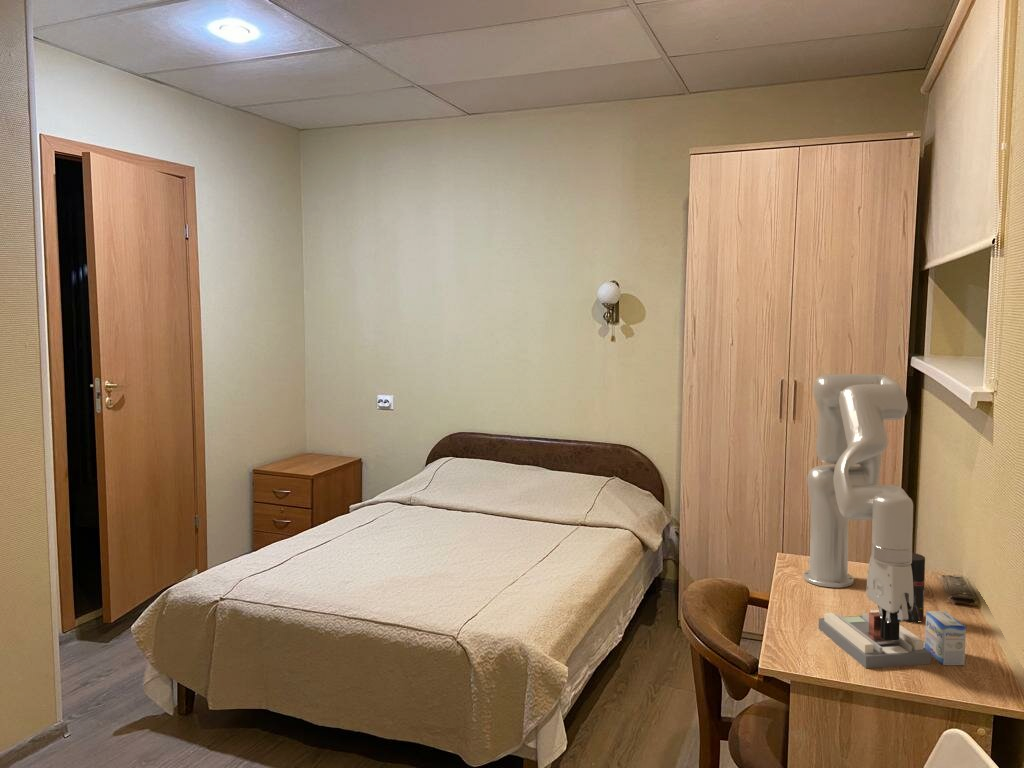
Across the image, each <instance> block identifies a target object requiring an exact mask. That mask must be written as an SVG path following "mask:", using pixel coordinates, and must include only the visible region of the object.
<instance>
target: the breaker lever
mask: <svg viewBox="0 0 1024 768" xmlns="http://www.w3.org/2000/svg"><path fill="white" fill-rule="evenodd" d="M868 615H869V632H863V633H864V634H865V635H866V636H868V637H869V638H870V639H872V640H873V641H874V642H876V643H877V644H878V645H881V644H897V643H898V640H889V641H886V640H884V639H883V638H881V636H880V631H881V618H880V616H879V612H872V613H870V612H868Z"/></svg>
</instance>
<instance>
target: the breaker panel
mask: <svg viewBox="0 0 1024 768" xmlns="http://www.w3.org/2000/svg"><path fill="white" fill-rule="evenodd" d="M872 612H879V609H871V610H870V611H869V613H872ZM869 613H867V612H861V615H855V616H854V615H853V616H841V615H840V614H839V613H833V612H825V613H824V617H820V618H819V617H818V630H819V629H820V630H819V631H821V632H822V631H823V632H824V633H825V634H826V635H825V634H824V633H823V632H822V633H823V634H824V635H825V636H827V637H828V638H829V639H830V638H831V639H832V642H834V643H835V644H836V645H837V646H839V648H840V649H842V650H843V651H844V652H846V653H847V654H848V655H850V656H851V657H852V658H853V659H854V660H855V661H857V663H859V664H860V665H861V666H862V667H864V668H865V669H874V668H889V667H890V668H891V667H906V666H919V665H920V666H921V665H931V661H932V660H931V657H932V655H931V652H930V651H928V650H927V649H925V640H923V639H922V638H920V637H918V636H917V635H916V634H915V633H912V632H911V631H909V629H908V628H907V629H906V628H905V627H904V626H902V625H901V624H900V626H899V639H898V643H897V644H881V645H878V644H877V643H876V642H874V641H873V640H872V639H870V638H869V637H868V636H866V635H865V634H864V633H863V632H869ZM831 639H830V640H831Z"/></svg>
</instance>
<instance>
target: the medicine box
mask: <svg viewBox="0 0 1024 768" xmlns="http://www.w3.org/2000/svg"><path fill="white" fill-rule="evenodd" d="M966 631H967V627H966V625H965V624H963V623H962V622H960V621H959V620H958V619H956V618H955V617H954V616H952V615H951V614H950V613H948V612H947V611H941V610H938V611H937V610H936V611H935V610H929V611H926V613H925V631H924V633H925V634H924V648H925V649H927V650H928V651H930V652H931V657H933V658H934V659H935V660H937V661H938V662H939V663H940V664H941V665H942V666H944V665H963V666H965V658H966V639H967V638H966V634H967V632H966Z"/></svg>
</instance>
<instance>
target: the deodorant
mask: <svg viewBox="0 0 1024 768" xmlns="http://www.w3.org/2000/svg"><path fill="white" fill-rule="evenodd" d="M911 568H912V575H913V593H914V598H913V609H912V611H911V612H908V618H909V619H908V620H901V622H905V621H906V622H905V623H911V622H918V621H922V620H923V621H924V617H925V615H924V612H925V610H924V609H925V604H924V603H925V578H926V577H925V574H926V572H925V571H926V557H925V556H924V555H922V554H920V553H914V552H912V563H911ZM895 613H896V612H895ZM923 621H922V622H923Z"/></svg>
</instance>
